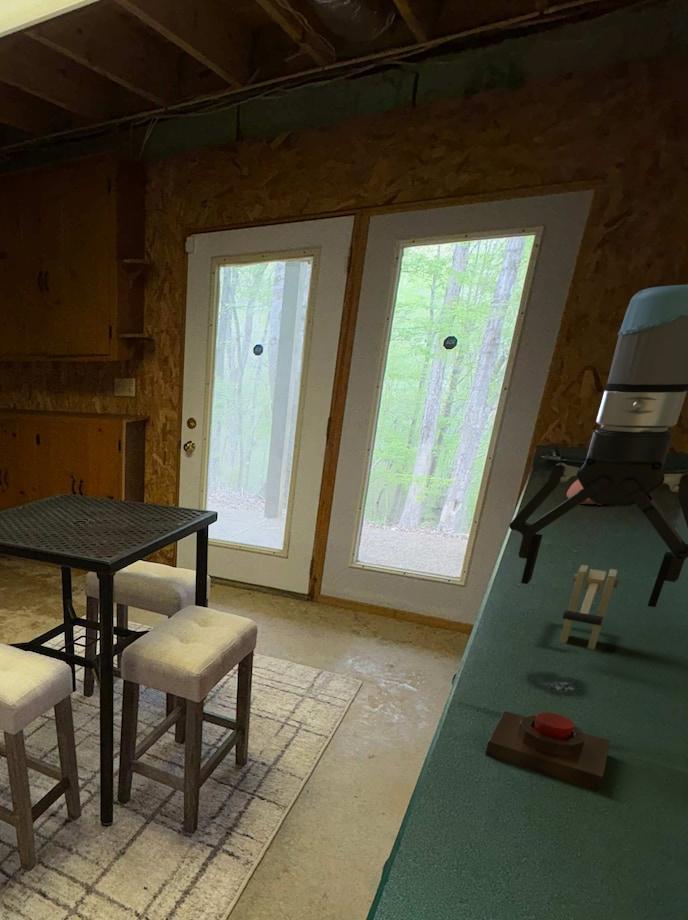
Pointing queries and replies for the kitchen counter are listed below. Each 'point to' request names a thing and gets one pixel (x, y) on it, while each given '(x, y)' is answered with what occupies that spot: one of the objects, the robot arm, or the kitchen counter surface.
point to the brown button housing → (549, 751)
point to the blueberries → (561, 686)
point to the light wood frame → (574, 602)
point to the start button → (553, 725)
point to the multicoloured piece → (588, 599)
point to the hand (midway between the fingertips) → (585, 592)
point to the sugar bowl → (576, 488)
